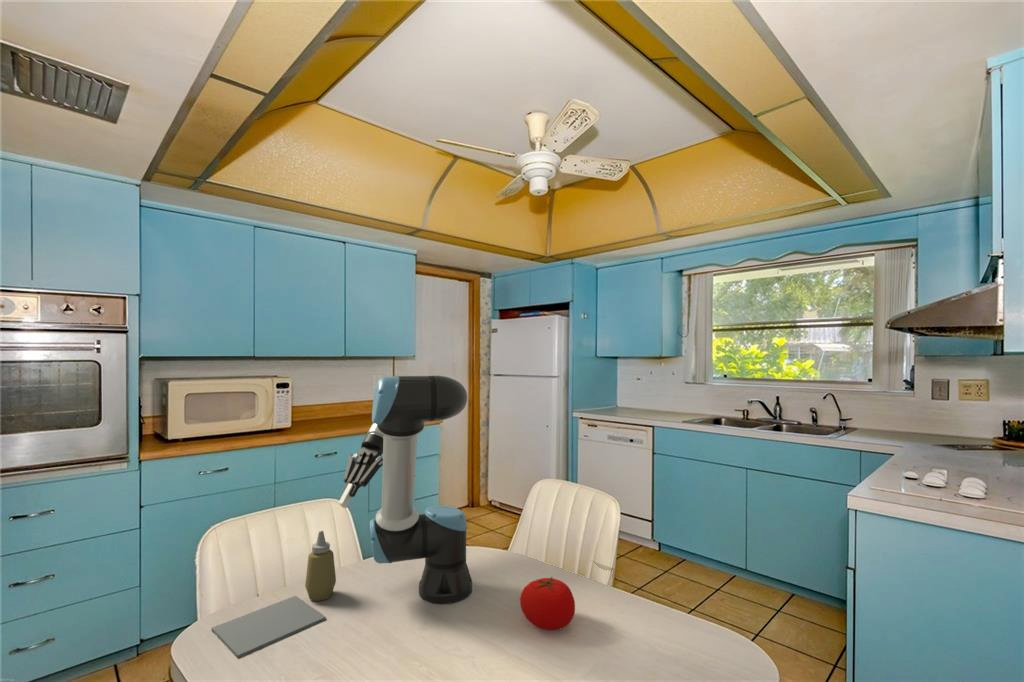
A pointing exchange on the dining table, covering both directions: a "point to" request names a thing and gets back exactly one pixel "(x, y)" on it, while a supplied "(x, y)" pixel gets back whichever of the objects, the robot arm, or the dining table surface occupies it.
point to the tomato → (548, 603)
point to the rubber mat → (266, 625)
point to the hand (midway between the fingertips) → (342, 505)
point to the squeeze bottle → (320, 570)
